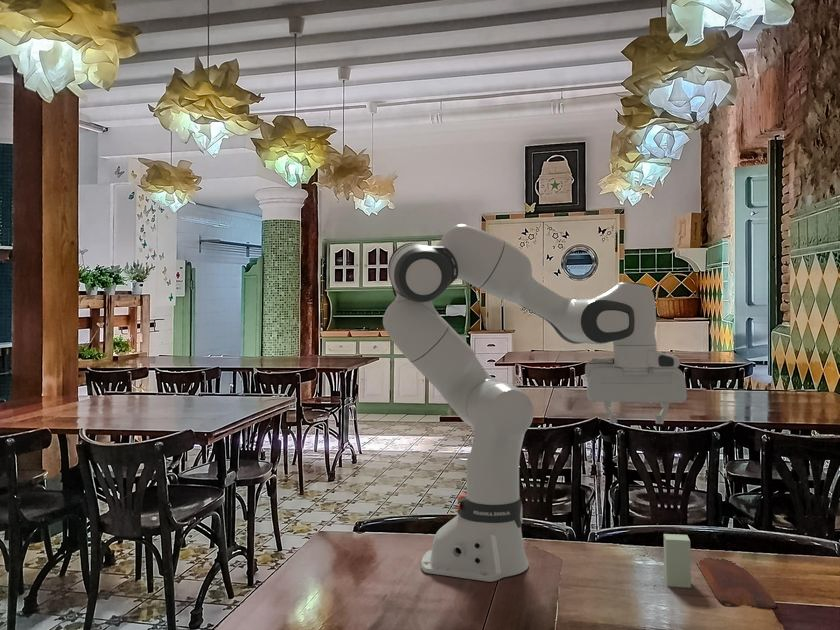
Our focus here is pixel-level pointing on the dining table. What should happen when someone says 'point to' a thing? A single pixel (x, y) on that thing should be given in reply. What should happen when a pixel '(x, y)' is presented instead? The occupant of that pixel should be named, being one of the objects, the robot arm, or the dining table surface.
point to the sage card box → (677, 560)
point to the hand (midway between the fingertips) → (636, 423)
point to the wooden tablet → (734, 584)
